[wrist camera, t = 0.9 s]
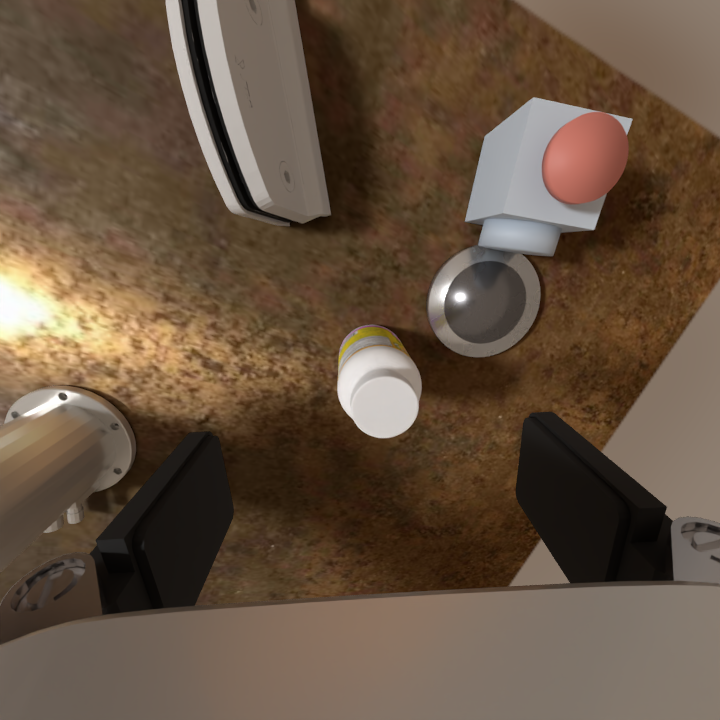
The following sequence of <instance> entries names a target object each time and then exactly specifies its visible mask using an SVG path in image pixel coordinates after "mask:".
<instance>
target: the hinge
mask: <svg viewBox="0 0 720 720" xmlns="http://www.w3.org/2000/svg"><path fill="white" fill-rule="evenodd" d="M166 9H167V16H168V23H169V29H170V35H171V41H172V47H173V52H174V56H175V60H176V65H177V69H178V73H179V77H180V81H181V86H182V89H183V93H184V96H185V100H186V103H187V106H188V110H189V113H190V116H191V119H192V122H193V125H194V128H195V131H196V134H197V137H198V140H199V143H200V145H201V148H202V151H203V153H204V156H205V159H206V161H207V164H208V166H209V169H210V171H211V173H212V176H213V178H214V180H215V182H216V185H217V187H218V189H219V191H220V193H221V195H222V197H223V200H224V202H225V204H226V206H227V207H228V209H229V210H230V211H231V212H232V213H234V214H237V215H241V216H245V217H248V218H252V219H256V220H259V221H263V222H267V223H270V224H274V225H278V226H290V223H289V222H292V220H293V221H296V222H299V223H302V224H303V223H306V222H308V221H310V220H312V219H315V218H317V217H319V216H324V217H327V216H329V215H331V211H330V205H329V199H328V193H327V187H326V181H325V175H324V170H323V164H322V158H321V152H320V146H319V140H318V134H317V128H316V122H315V117H314V111H313V105H312V99H311V93H310V87H309V81H308V75H307V70H306V64H305V58H304V52H303V46H302V40H301V34H300V28H299V23H298V17H297V11H296V5H295V0H166Z"/></svg>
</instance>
